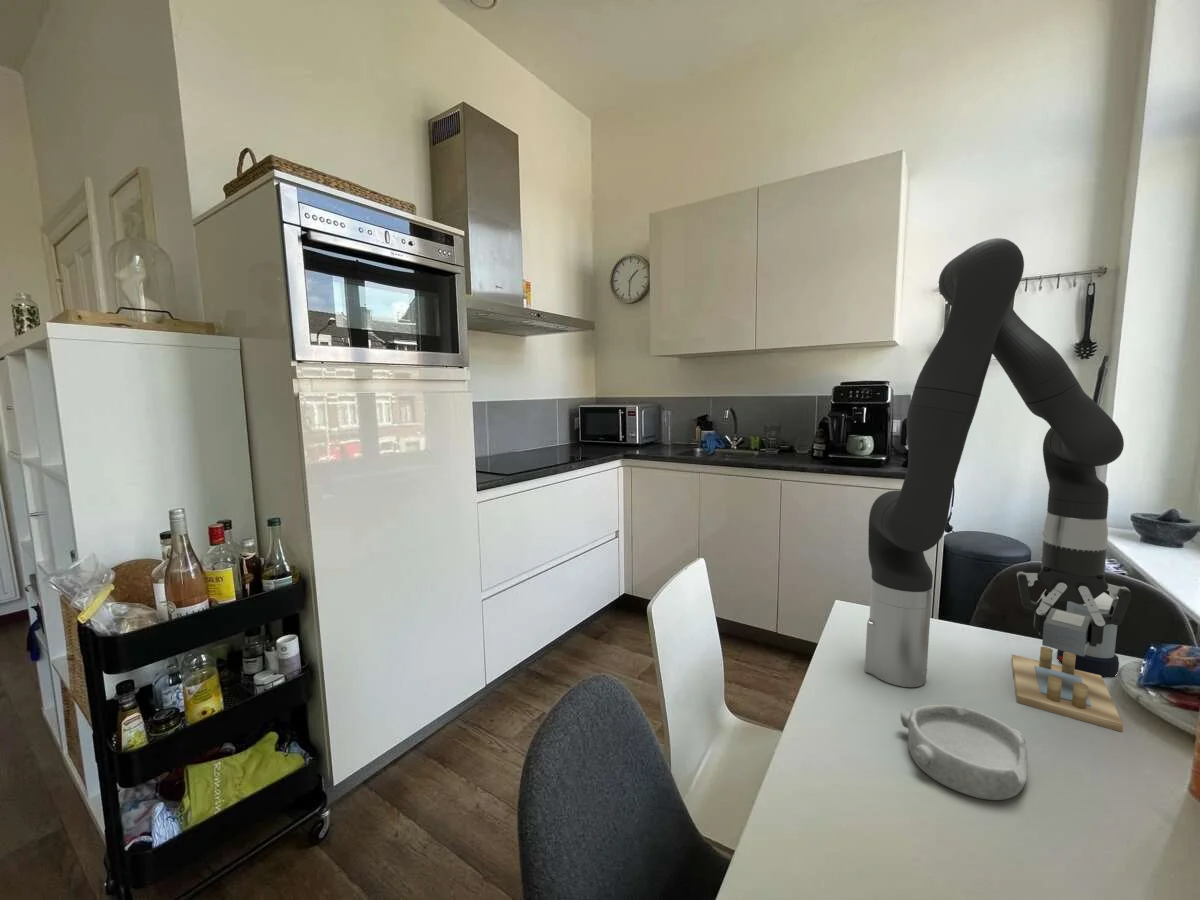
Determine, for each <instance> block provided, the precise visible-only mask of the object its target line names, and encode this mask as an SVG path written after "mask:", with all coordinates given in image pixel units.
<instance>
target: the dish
mask: <svg viewBox="0 0 1200 900" xmlns="http://www.w3.org/2000/svg"><path fill="white" fill-rule="evenodd" d="M900 722H901V723H902V724H901V725H902V726H903V727H904V728H906V729H907V731H908V732H907V733H908V734H907V735H908V736H907V743H908V749H909V753H910V755H911V758H912V759H913V761H914V763H915V764H916V765H917V766H918V767H919V768H920V769H921V770H922V771H923V772H924V773H925V774H926V775H928V776H929V777H930V778H931V779H933V780H934V781H937V782H938V783H940V785H943V786H945V787H947V788H948V789H952V790H953V791H956V792H958V793H961V794H965V795H966V796H969V797H972V798H977V799H983V800H989V801H1001V800H1002V801H1003V800H1008V799H1010V798H1011V799H1012V798H1014V797H1015V796H1016V795H1019V793H1020V792H1021V791H1022V789H1023V788H1024V786H1025V785H1026V782H1027V778H1028V772H1029V771H1028V770H1029V769H1028V768H1029V765H1028V764H1029V762H1028V749H1027V746H1026V744H1027V743H1026V742H1027V741H1026V738H1025V737H1024V735H1023V733H1022V732H1021V731H1019V730H1017V729H1014V728H1012V727H1010V726H1009V725H1008V724H1005V723H1004V722H1002V721H1001V720H998V719H997V718H995V717H993V716H990V715H988V714H986V713H982V712H981V711H978V710H975V709H973V708H969V707H960V706H957V705H954V704H931V705H930V704H929V705H924V706H923V705H922V706H919V707H916V708H914V709H913V710H912V711H911V712H910V711H908V710H906V709H905V710H902V711H901V712H900Z"/></svg>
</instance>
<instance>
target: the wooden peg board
mask: <svg viewBox="0 0 1200 900" xmlns="http://www.w3.org/2000/svg"><path fill="white" fill-rule="evenodd" d="M1039 651H1040V654H1039V660H1037V659H1033V658H1028V657H1024V656H1020V655H1016V654H1011V661H1010V662H1011V667H1012V674H1013V675H1012V676H1013V682H1014V683H1013V684H1014V688H1015V696H1016V698H1015V699H1016V703H1018V704H1021V705H1024V706H1027V707H1031V708H1035V709H1039V710H1043V711H1046V712H1050V713H1053V714H1058V715H1060V716H1061V715H1062V716H1063V717H1068V718H1071V719H1074V720H1079V721H1083V722H1086V723H1089V724H1093V725H1097V726H1099V727H1100V726H1101V727H1103V728H1107V729H1111V730H1113V731H1118V732H1121V733H1122V732H1123V729H1124V724H1123V720H1122V718H1121V717H1120V715H1119V712H1118V710H1117V707H1116V705H1115V704H1114V702H1113V698H1112V697H1111V695H1110V692H1109V690H1108V688H1107V686H1106V683H1105V681H1104V679H1103V677H1102V676H1101V675H1096V674H1092V673H1088V672H1084V671H1080V670H1075V660H1076V655H1075V654H1073V653H1069V652H1063V662H1062V663H1061V665H1059V664H1054V663H1053V662H1052V661H1053V652H1054V651H1053V648H1051V647H1047V646H1041V647H1040V650H1039Z"/></svg>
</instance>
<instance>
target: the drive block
mask: <svg viewBox="0 0 1200 900" xmlns="http://www.w3.org/2000/svg"><path fill="white" fill-rule="evenodd" d="M1046 616H1047V618H1046V619H1045V621H1044V627H1043V636H1042V641H1041V643H1042V647H1048V648H1051V649H1054V650H1057V651H1058V650H1062V651H1065V652H1069V653H1073V654H1076V655H1080V656H1085V652H1086V649H1087V646H1088V638H1089V626H1090V620H1091V617H1090V616H1085V615H1081V614H1076V613H1072V612H1068V611H1066V610H1062V609H1059V608H1054V607H1050V609H1049V612H1048V614H1046Z"/></svg>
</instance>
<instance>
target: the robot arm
mask: <svg viewBox="0 0 1200 900" xmlns="http://www.w3.org/2000/svg"><path fill="white" fill-rule="evenodd" d="M1024 268H1025V260H1024V256H1023V252H1022V251H1021V249H1020V248H1019V246H1018V245H1017V244H1016V243H1014V242H1013V241H1011V240H1009V239H1007V238H1002V237H1000V238H998V237H997V238H996V237H995V238H990V239H986V240H984V241H981V242H979V243H976V244H974V245H972V246H971V247H969V248H968V249H965V251H963V252H961V253H960V254H959V255H957V256H956V257H954V258H952V259H951V260H950V261H949V262H948V263H947V264H946V265H944V267H943V268H942V270H941V272H940V275H939V278H938V289H939V292H940V294H941V296H942V297H943V299H944V300H945V302H946V303H948V305H949V306H950V310H949V315H948V318H947V321H946V325H945V327H944V328H943V329H944V330H943V332H942V333H941V335H940V337H939V339H938V340H937V342H936V345H935V346H934V348H933V349H932V351H931V352H930V353H929V356H928V357H927V360H926V361H925V363H924V365H923V366H922V369H921V370H920V372H919V375H918V377H917V379H916V382H915V385H914V388H913V392H912V395H911V399H910V401H909V405H908V408H907V414H906V439H907V451H908V454H907V455H908V464H907V468H906V473H905V477H904V480H903V483H902V486H901V489H900V490H890V491H887V492H884V493H882V494H880V495H879V496H878V497H877V498H876V499H875V500H874V502H873V503H872V506H871V507H870V511H869V517H868V538H867V539H868V544H867V545H868V550H867V551H868V559H869V563H870V568H871V580H870V581H871V582H870V585H871V586H870V598H869V599H870V600H869V601H870V605H869V618H868V620H867V623H866V634H865V635H866V639H865V640H866V641H865V656H864V657H865V659H864V672H865V673H869V674H870V675H872V676H874V677H875V678H877V679H879V680H881V681H883V682H885V683H888V684H891V685H894V686H898V687H904V688H917V687H921V686H923V685H925V684H926V682H927V674H928V659H929V658H928V655H929V643H930V642H929V640H930V638H929V637H930V624H931V610H932V596H933V595H932V594H933V577H934V576H933V571H932V569H931V567H930V566H929V564H928V561H927V560H926V557H925V553H924V552H927V551H929V550H930V549H933V547H935V546H936V545H937V544H938V543H939V542H940V541H941V539H942V537H943V536H944V534H945V531H946V528H947V523H948V518H949V513H950V508H951V501H952V495H953V491H954V485H955V479H956V475H957V472H958V469H959V466H960V462H961V459H962V455H963V452H964V449H965V445H966V441H967V438H968V435H969V431H970V429H971V426H972V423H973V420H974V417H975V414H976V411H977V408H978V404H979V402H980V397H981V394H982V391H983V387H984V383H985V378H986V376H987V373H988V370H989V366H990V363H991V360H992V356H994V358H995V359H996V361H997V362H998V363H999V365H1000V367H1001V368H1002V370H1003V371H1004V373H1006V376H1007V377H1008V378H1009V381H1010V382H1011V383H1012V385H1013V386H1014V388H1015V390H1016V391H1017V393H1018V394H1019V396H1020V398H1021V399H1022V401H1023V402H1024V404H1025V406H1026V408H1027V409H1028V410H1029V411H1030V412H1031V413H1032V414H1033V415H1035V416H1036V417H1038V418H1041V419H1042V420H1044V421H1045V422H1047V424H1048V425H1049V426H1050V428H1049V429H1048V430H1047V432H1046V434H1045V436H1044V439H1043V443H1042V457H1043V462H1044V467H1045V473H1046V477H1047V481H1048V486H1049V489H1048V495H1047V496H1048V497H1047V509H1046V510H1047V511H1046V512H1047V513H1046V517H1045V520H1044V524H1043V531H1042V537H1043V538H1042V550H1041V551H1042V552H1041V564H1040V565H1041V566H1040V569H1039V570H1038V571H1037V572H1025V571H1023V570H1018V571H1016V577H1017V583H1018V584H1017V585H1018V589H1019V595H1020V600H1021V605H1022V608H1024V609H1026V610H1030V611H1032V612H1033V613H1034V614H1033V617H1034V618H1033V628H1034V630H1035V632H1037V633H1038V635H1039V636H1040V637H1043V627H1044V621H1045V619H1046V618H1047V614H1046V613H1047V612H1048V611H1049V610H1050V609H1051V608H1052V607H1053V606H1054V604H1055V603H1056V602H1057V601H1059V602H1066V603H1067V602H1073V603H1076V604H1081V605H1084V604H1086V606H1087V608H1088V610H1089V612H1090V614H1091V616H1092V620H1090V626H1089V638H1088V643H1089V645H1090V646H1093V647H1096V646H1097V644H1101V643H1102V642H1103V630H1104V626H1105V625H1109V624H1114V625H1117V626H1120V625H1122V623H1123V621H1124V617H1125V615H1126V612H1127V610H1128V607H1129V605H1130V601H1131V599H1132V596H1133V593H1132V592H1131V590H1130V589H1129V588H1128V587H1127V586H1125V585H1115V584H1112V583H1111V584H1110V583H1108V582H1107V581H1106V579H1105V572H1106V561H1107V549H1108V547H1107V546H1108V537H1109V535H1108V534H1109V531H1108V530H1109V529H1108V518H1107V517H1108V511H1109V510H1108V509H1109V495H1110V494H1109V487H1108V486H1107V484H1105V482H1103V481H1102V480H1100V478H1098V476H1097V471H1096V467H1101V466H1106V465H1109V464H1111V463H1113V462H1114V461H1116V460H1117V459H1118V458H1120V456H1121V454H1122V453H1123V450H1124V447H1125V445H1124V444H1125V443H1124V437H1123V434H1122V431H1121V429H1120V428H1119V426H1118V425H1117V424H1116V422H1115V421H1114V420H1113V419H1112V417H1110V416H1109V414H1108V413H1107V412H1106V411H1105V410H1104V409H1103V408H1102V407H1101V406H1100V405H1099V404H1098V403H1097V402H1095V400H1093V399H1092V398H1091V397H1090V396H1089V395H1088V394H1087V393H1086V392H1085V391H1084V390H1083V388H1082V386H1081V384H1080V382H1078V379H1077V377H1076V376H1075V374H1074V373H1073V371H1072V370H1071V368H1070V367H1069V365H1068V363H1067V362H1066V361H1065V360H1064V358H1063V356H1062V355H1061V354H1060V353H1059V352H1058V351H1057V350H1056V348H1054V347H1053V346H1052V345H1051V344H1050V343H1049V342H1048V341H1047V340H1045V339H1044V338H1043V337H1041V336H1040V335H1039V334H1038V333H1037V332H1035V330H1033V329H1032V328H1031V327H1030V326H1029V325H1027V323H1025V321H1024V320H1022V318H1021V317H1020V316H1019V315H1018V314H1017V313H1016V311H1015V309H1013V307H1012V306H1011V304H1012V301H1013V299H1014V297H1015V294H1016V292H1017V289H1018V287H1019V285H1020V283H1021V280H1022V277H1023V274H1024V270H1025V269H1024ZM1036 581H1038V582H1039V583H1040V584H1041V585H1042V587H1043V588H1044V589H1045V590H1044V591H1043V592H1042V593H1041V595H1040V598H1039V599H1038V600H1037V601H1033V600H1032V599H1031V595H1030V588H1029V587H1032V586H1034V584H1035V582H1036ZM1107 591H1108V592H1109V596H1110V597H1111V598H1112V599H1113V601H1112V604H1111V607H1110V610H1109V612H1108V614H1101V613H1100V611H1099V609H1098V607H1097V605H1096V603H1095V601H1094V599H1095V598H1097V597H1098V596H1099V595H1101V594H1102V593H1106V592H1107Z"/></svg>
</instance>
